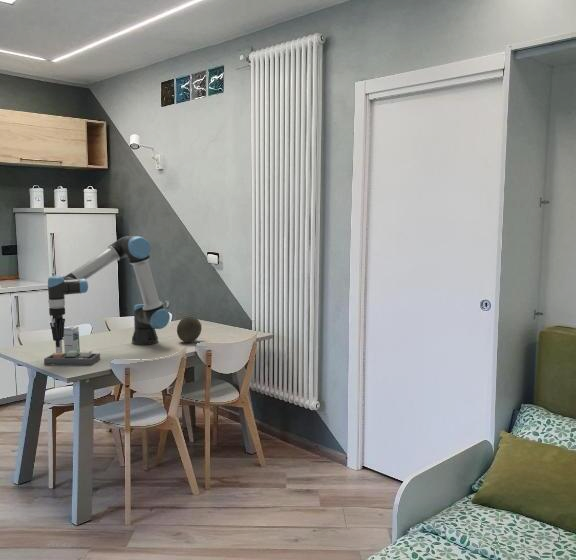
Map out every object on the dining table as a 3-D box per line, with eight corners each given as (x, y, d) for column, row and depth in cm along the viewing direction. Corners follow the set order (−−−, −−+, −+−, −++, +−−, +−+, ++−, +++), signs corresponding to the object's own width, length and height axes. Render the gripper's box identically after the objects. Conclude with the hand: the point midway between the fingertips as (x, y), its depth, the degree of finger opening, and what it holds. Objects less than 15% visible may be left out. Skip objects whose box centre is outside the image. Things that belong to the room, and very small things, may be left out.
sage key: (78, 354, 304) (78, 350, 304) (75, 356, 299) (74, 352, 299) (69, 354, 304) (69, 350, 304) (66, 356, 300) (66, 352, 299)
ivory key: (91, 354, 304) (91, 350, 303) (88, 356, 299) (88, 352, 299) (83, 354, 304) (83, 350, 303) (80, 356, 299) (79, 352, 299)
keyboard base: (100, 359, 308) (99, 352, 307) (91, 365, 296) (91, 358, 295) (54, 359, 308) (54, 352, 308) (44, 364, 297) (44, 357, 296)
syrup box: (73, 354, 318) (72, 328, 316) (64, 354, 319) (63, 327, 318) (79, 352, 323) (79, 326, 322) (70, 351, 325) (69, 325, 323)
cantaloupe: (196, 345, 342) (196, 319, 340) (173, 344, 345) (173, 318, 343) (204, 340, 355) (204, 315, 354) (182, 339, 358) (182, 314, 357)
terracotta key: (65, 356, 304) (64, 352, 304) (61, 358, 300) (61, 355, 300) (56, 356, 304) (56, 352, 304) (52, 358, 300) (52, 354, 300)
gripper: (55, 305, 306) (57, 349, 308) (44, 309, 293) (46, 355, 296) (69, 305, 305) (71, 349, 308) (58, 309, 293) (61, 355, 295)
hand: (59, 352), depth 302 cm, fingers closed
